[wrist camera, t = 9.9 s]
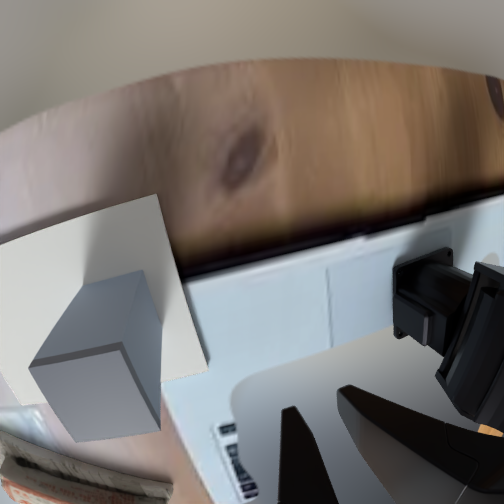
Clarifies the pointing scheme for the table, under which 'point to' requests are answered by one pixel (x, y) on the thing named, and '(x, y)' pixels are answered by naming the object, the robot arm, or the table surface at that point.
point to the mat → (86, 272)
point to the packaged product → (69, 479)
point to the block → (104, 361)
